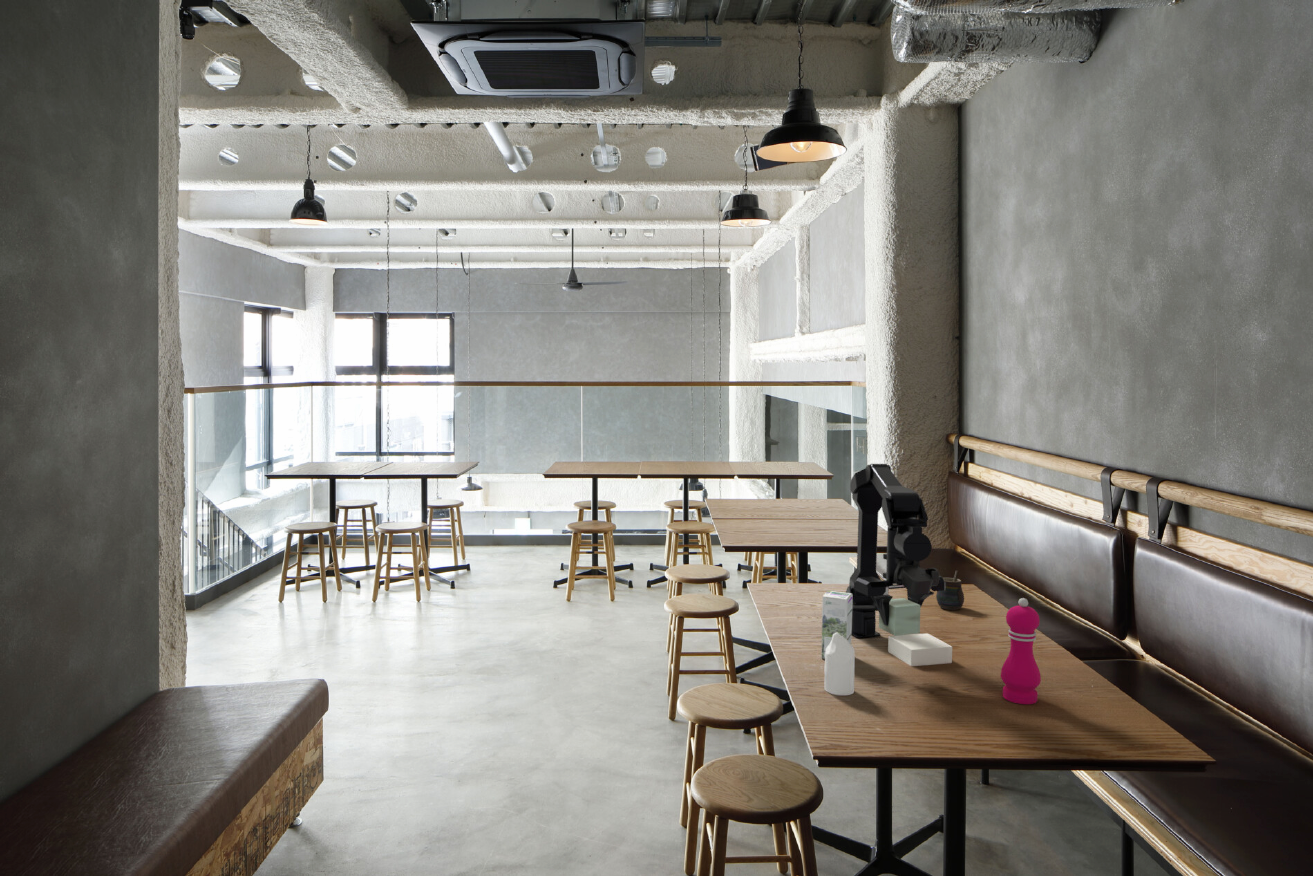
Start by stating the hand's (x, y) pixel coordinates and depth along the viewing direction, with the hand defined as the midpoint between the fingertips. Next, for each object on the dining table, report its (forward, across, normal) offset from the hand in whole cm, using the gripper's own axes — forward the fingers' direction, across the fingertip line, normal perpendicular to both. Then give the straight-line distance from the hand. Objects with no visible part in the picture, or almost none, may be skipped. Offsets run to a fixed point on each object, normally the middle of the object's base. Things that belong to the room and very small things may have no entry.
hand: (899, 624), depth 176 cm
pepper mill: (+11, +15, -19) cm, 27 cm away
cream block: (+11, +11, +8) cm, 18 cm away
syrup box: (+11, -7, +13) cm, 19 cm away
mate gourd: (+11, +44, +41) cm, 61 cm away
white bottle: (+11, -17, -5) cm, 21 cm away
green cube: (+1, 0, 0) cm, 1 cm away
